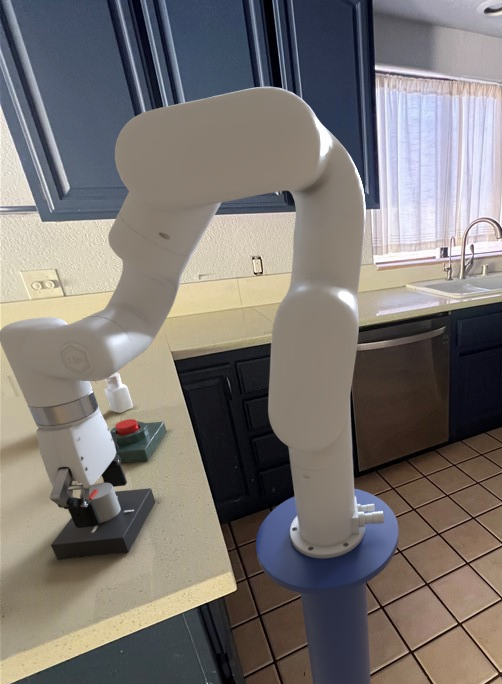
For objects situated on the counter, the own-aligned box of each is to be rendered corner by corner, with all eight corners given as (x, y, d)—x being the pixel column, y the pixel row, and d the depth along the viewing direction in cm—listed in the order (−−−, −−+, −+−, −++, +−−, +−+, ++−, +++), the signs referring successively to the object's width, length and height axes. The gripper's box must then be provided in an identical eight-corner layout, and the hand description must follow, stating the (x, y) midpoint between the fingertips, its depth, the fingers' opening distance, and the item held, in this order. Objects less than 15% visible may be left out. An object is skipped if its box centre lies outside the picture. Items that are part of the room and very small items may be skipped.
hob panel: (155, 501, 75) (151, 487, 74) (128, 552, 65) (122, 536, 63) (95, 507, 74) (89, 492, 73) (57, 560, 63) (49, 544, 62)
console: (166, 431, 98) (162, 414, 96) (148, 460, 87) (142, 441, 85) (120, 435, 97) (114, 417, 95) (95, 465, 86) (88, 446, 84)
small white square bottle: (125, 404, 111) (114, 370, 107) (134, 407, 109) (124, 373, 105) (110, 411, 108) (98, 376, 104) (119, 414, 106) (108, 379, 102)
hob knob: (96, 506, 70) (87, 482, 68) (125, 503, 70) (116, 479, 68) (83, 524, 66) (73, 499, 64) (113, 521, 66) (104, 497, 64)
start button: (141, 425, 92) (139, 418, 91) (134, 434, 89) (132, 427, 88) (122, 427, 92) (119, 419, 91) (114, 436, 88) (111, 429, 87)
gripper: (69, 385, 67) (103, 474, 75) (-6, 441, 52) (47, 547, 59) (119, 381, 68) (148, 470, 75) (60, 436, 52) (104, 541, 60)
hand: (103, 504), depth 67 cm, fingers open, 9 cm apart
